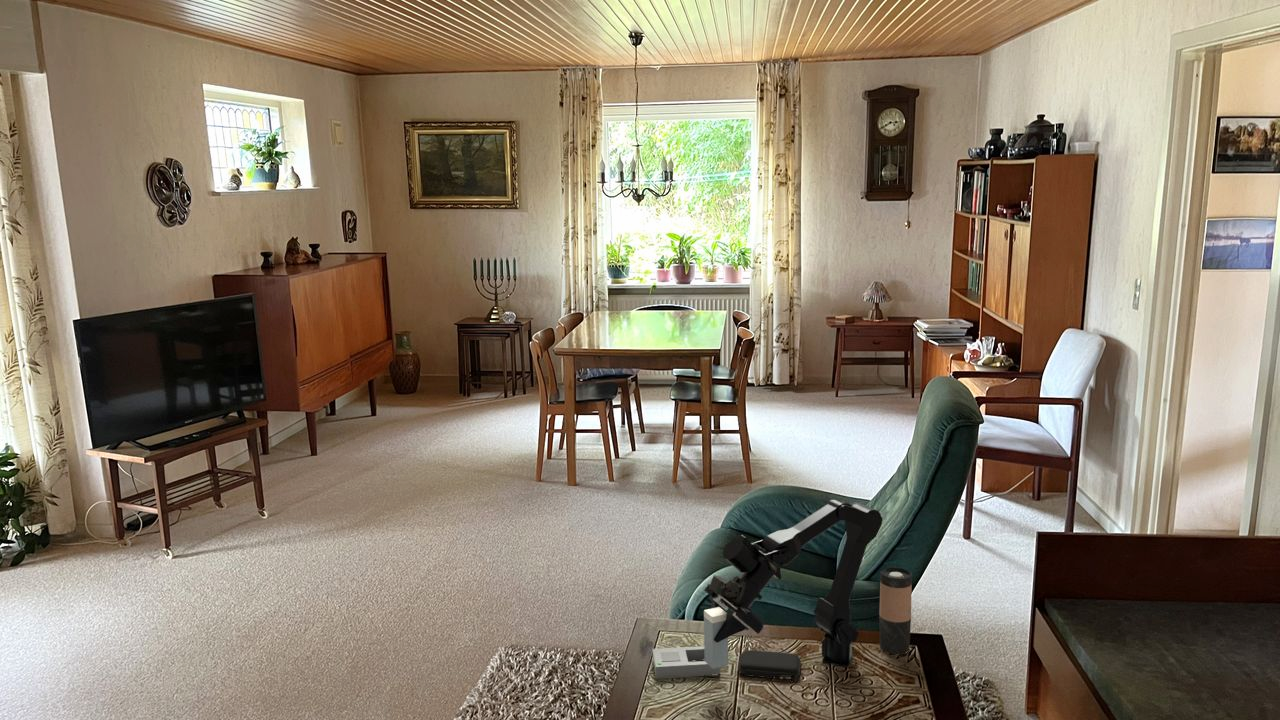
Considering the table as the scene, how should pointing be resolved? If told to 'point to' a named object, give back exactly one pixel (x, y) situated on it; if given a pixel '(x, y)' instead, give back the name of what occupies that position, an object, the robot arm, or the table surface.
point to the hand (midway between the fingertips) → (710, 637)
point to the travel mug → (895, 610)
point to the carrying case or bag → (769, 664)
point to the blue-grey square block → (712, 650)
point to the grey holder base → (681, 662)
